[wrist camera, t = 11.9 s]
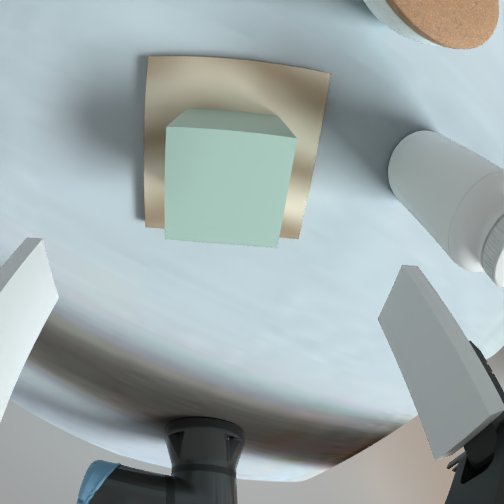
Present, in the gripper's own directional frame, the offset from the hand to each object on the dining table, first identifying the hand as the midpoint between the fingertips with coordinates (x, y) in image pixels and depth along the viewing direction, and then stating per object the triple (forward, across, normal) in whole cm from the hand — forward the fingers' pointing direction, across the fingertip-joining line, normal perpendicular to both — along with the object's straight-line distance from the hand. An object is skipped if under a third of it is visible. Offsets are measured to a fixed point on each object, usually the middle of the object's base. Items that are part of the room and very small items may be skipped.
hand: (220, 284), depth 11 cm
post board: (+17, 0, 0) cm, 17 cm away
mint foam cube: (+16, 0, 0) cm, 16 cm away
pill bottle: (+18, -18, -1) cm, 25 cm away
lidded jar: (+17, -12, -17) cm, 27 cm away
